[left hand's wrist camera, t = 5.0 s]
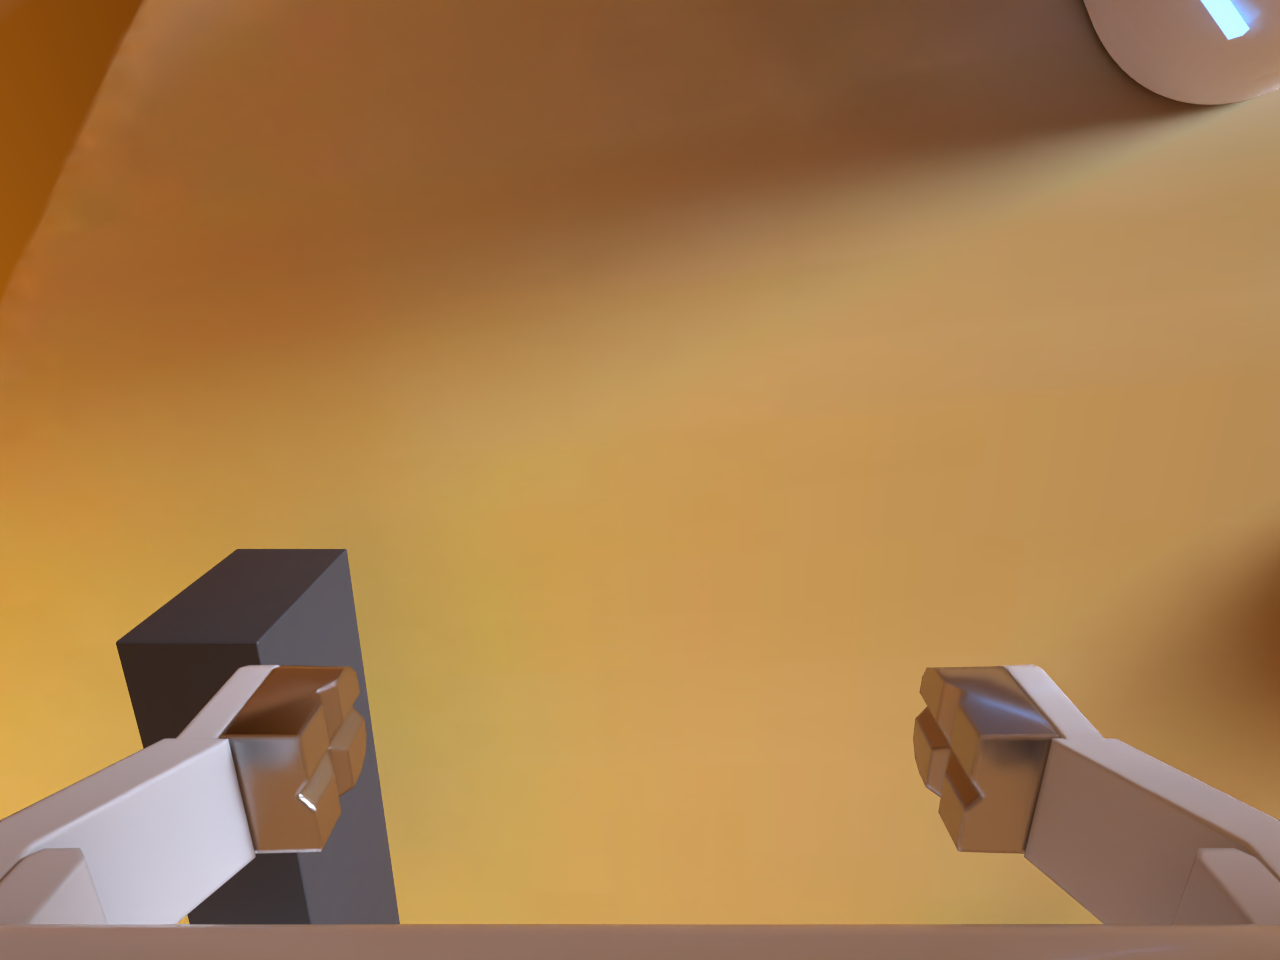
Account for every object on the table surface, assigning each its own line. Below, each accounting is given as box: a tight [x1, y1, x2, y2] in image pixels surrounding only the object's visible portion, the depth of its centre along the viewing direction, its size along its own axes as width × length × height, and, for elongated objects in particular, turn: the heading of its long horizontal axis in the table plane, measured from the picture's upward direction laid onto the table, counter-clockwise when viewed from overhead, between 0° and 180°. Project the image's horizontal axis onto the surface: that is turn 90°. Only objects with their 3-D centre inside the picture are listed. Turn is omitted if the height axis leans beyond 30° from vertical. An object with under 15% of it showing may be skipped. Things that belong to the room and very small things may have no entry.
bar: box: [116, 549, 400, 925], centre depth 34 cm, size 26×5×8 cm, turn 0°
